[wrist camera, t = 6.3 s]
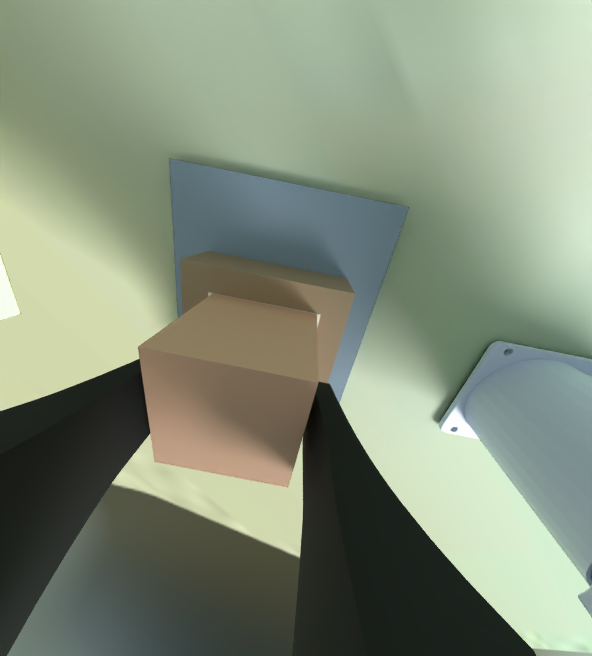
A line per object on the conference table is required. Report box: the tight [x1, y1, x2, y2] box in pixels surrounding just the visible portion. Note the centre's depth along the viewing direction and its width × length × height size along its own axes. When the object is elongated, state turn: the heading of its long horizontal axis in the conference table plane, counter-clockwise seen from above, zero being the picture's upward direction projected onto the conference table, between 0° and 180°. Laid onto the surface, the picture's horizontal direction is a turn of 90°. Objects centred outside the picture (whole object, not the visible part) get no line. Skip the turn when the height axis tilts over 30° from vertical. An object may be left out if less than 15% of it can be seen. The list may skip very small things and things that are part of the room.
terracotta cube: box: [138, 293, 318, 487], centre depth 9 cm, size 5×5×5 cm
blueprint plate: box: [169, 158, 409, 403], centre depth 13 cm, size 12×16×4 cm
